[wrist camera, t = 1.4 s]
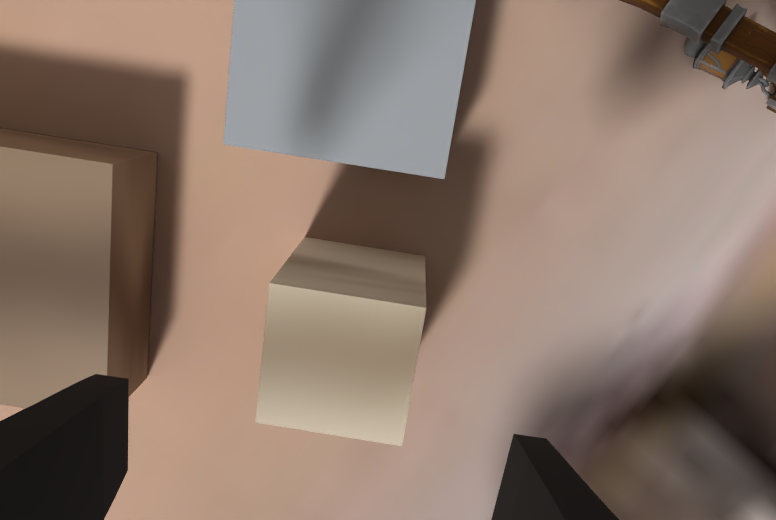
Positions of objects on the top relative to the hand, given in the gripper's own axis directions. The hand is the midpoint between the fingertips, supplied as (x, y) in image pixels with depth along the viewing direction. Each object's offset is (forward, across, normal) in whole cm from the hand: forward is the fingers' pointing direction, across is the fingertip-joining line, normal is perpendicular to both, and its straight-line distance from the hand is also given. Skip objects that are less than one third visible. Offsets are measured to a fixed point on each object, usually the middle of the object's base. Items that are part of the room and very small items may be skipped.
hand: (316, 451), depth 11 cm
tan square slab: (+10, +11, +1) cm, 15 cm away
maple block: (+10, 0, +1) cm, 10 cm away
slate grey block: (+10, +1, -7) cm, 12 cm away
